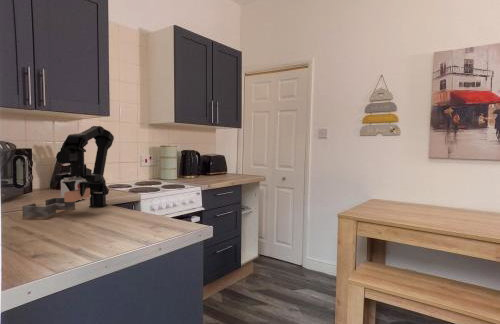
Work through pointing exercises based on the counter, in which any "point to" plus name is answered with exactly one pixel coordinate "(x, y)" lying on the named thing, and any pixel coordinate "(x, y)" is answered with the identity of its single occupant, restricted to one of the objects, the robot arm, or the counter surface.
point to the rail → (76, 195)
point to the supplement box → (65, 189)
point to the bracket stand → (47, 209)
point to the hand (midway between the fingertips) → (77, 196)
